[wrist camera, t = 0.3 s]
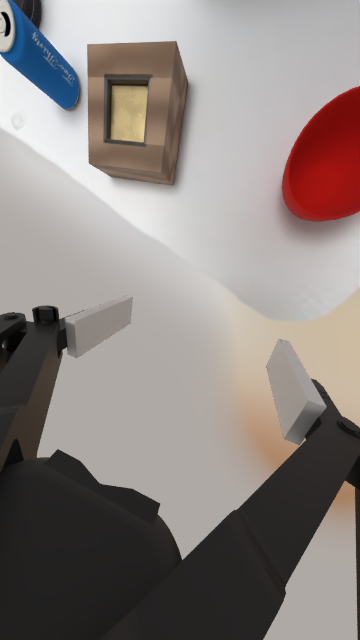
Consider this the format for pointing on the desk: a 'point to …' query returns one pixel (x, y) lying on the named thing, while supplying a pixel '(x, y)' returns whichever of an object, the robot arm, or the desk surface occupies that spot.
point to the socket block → (161, 111)
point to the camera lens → (30, 10)
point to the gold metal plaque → (128, 112)
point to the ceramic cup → (326, 163)
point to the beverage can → (36, 56)
